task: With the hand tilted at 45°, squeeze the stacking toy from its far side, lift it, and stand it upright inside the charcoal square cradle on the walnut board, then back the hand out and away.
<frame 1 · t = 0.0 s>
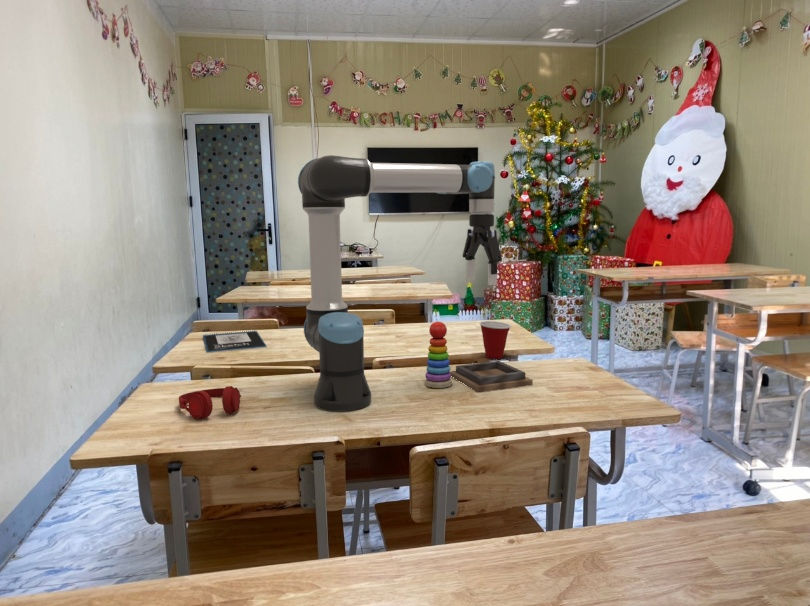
hand: (481, 282, 184), 28 cm above the table, tool pointing down, fingers open, 13 cm apart
headphones: (210, 409, 155), on the table
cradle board: (489, 380, 177), on the table
plastic cup: (495, 357, 205), on the table
stacking toy: (438, 385, 173), on the table
sketchbook: (233, 343, 233), on the table
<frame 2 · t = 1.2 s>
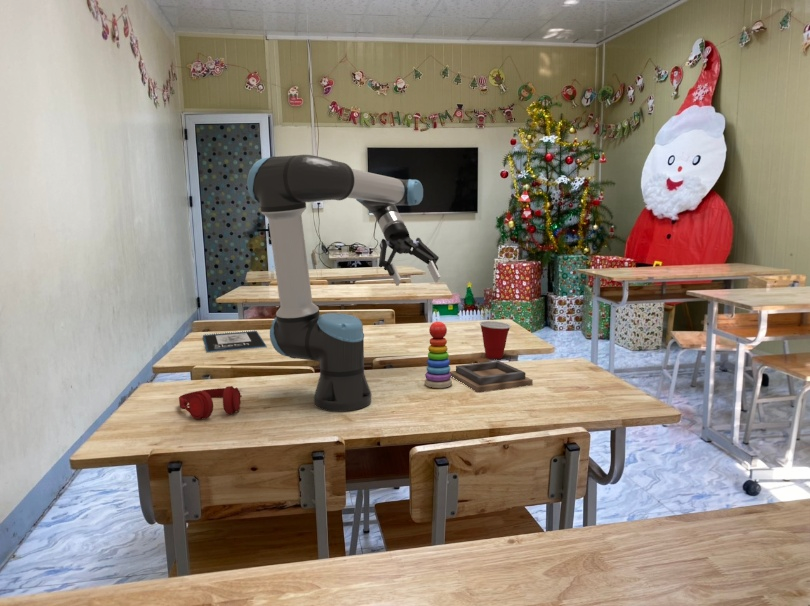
hand: (418, 281, 177), 29 cm above the table, tool tilted 45°, fingers open, 13 cm apart
nothing on the table moved.
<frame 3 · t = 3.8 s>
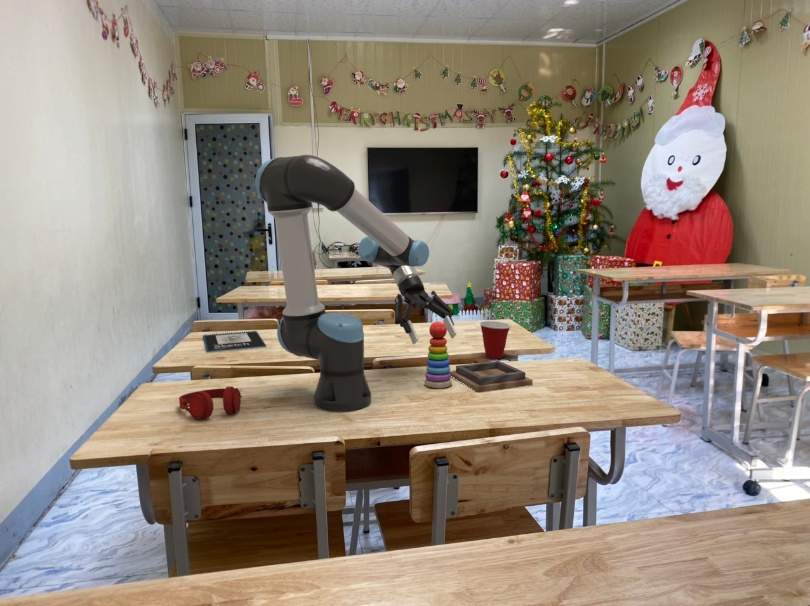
hand: (435, 338, 175), 13 cm above the table, tool tilted 45°, fingers open, 13 cm apart
nothing on the table moved.
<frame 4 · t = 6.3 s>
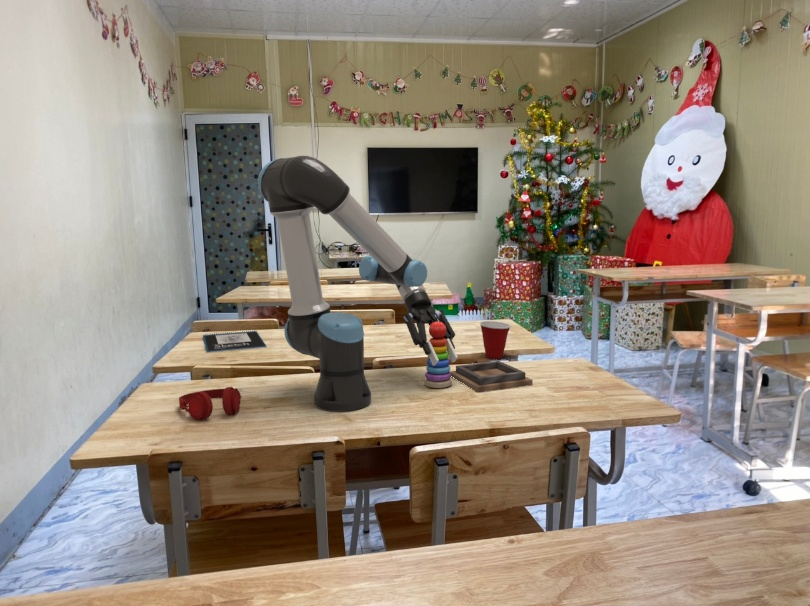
hand: (445, 361, 168), 8 cm above the table, tool tilted 45°, fingers closed on stacking toy, 6 cm apart
stacking toy: (438, 385, 173), on the table, touching gripper
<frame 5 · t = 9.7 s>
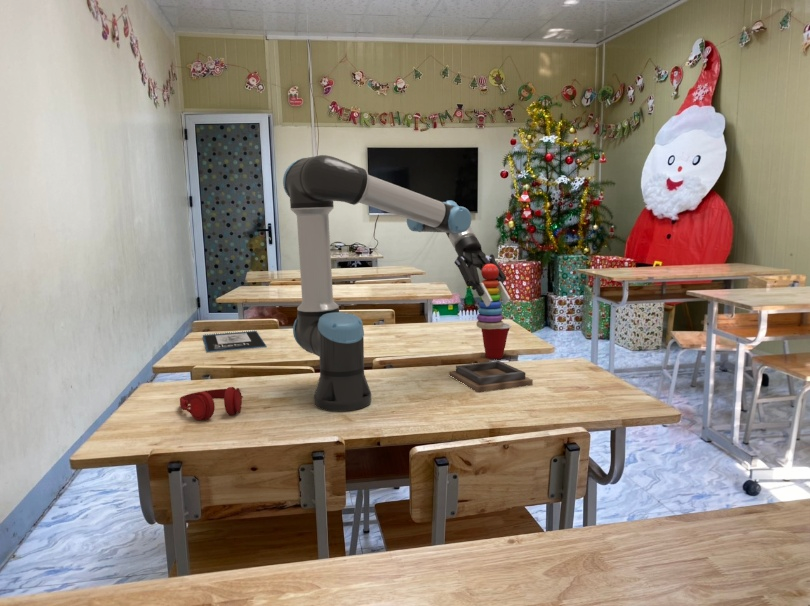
hand: (498, 302, 170), 24 cm above the table, tool tilted 45°, fingers closed on stacking toy, 6 cm apart
stacking toy: (490, 327, 174), point 16 cm above the table, touching gripper
when the fingers open (11 cm above the table, at t = 13.4 s): stacking toy drops 1 cm, resting on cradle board.
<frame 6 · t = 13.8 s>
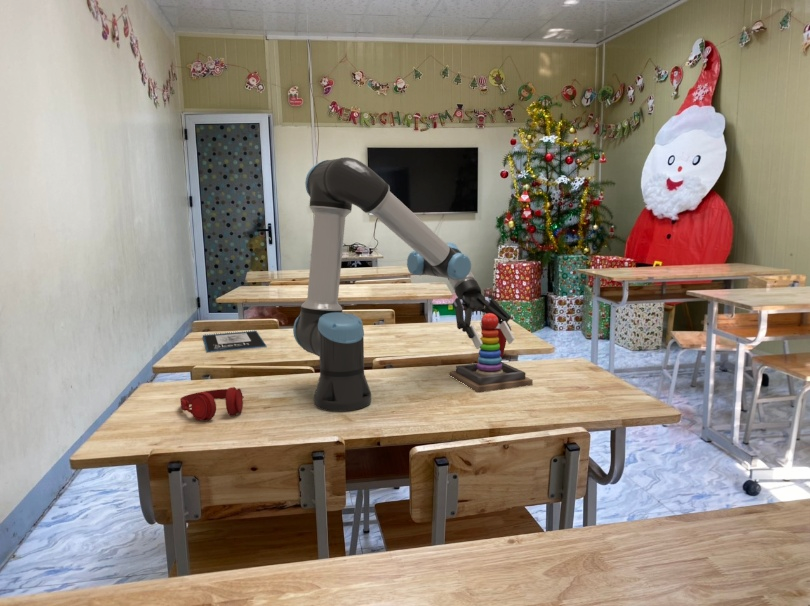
hand: (496, 343, 173), 12 cm above the table, tool tilted 45°, fingers open, 11 cm apart
stacking toy: (489, 376, 177), point 1 cm above the table, touching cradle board
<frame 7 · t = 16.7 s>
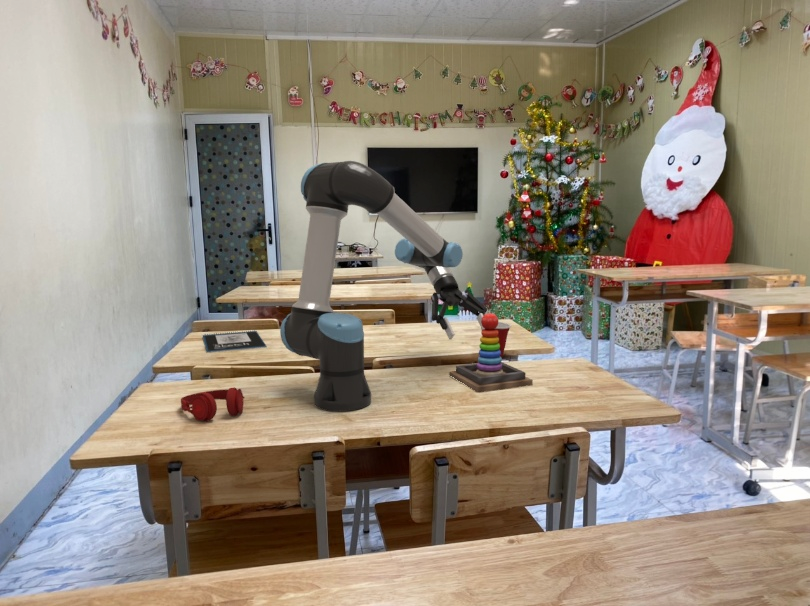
hand: (470, 334, 184), 12 cm above the table, tool tilted 45°, fingers open, 13 cm apart
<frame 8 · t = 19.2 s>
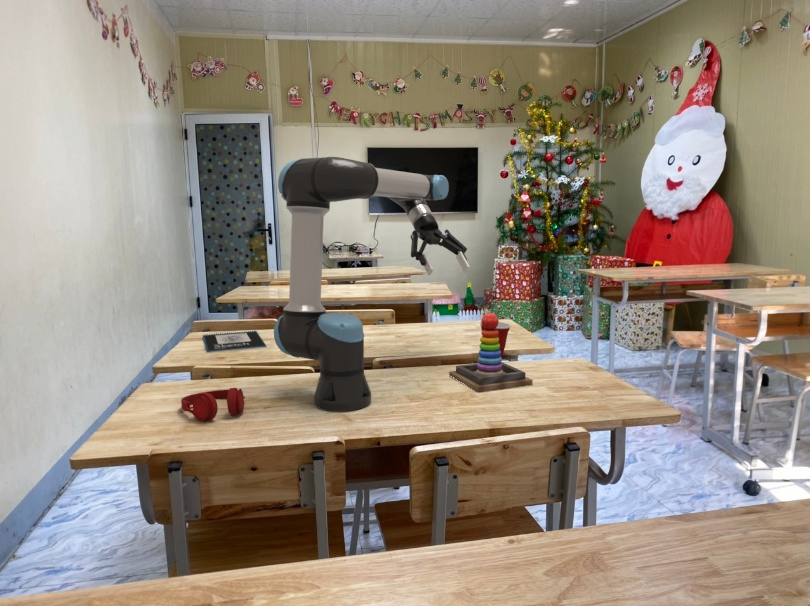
hand: (449, 271, 184), 32 cm above the table, tool tilted 45°, fingers open, 13 cm apart
at the end: stacking toy 0.1 cm off-centre on the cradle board, point 1.3 cm above the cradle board's base; stacking toy tilted 0°; the gripper is holding nothing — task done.
